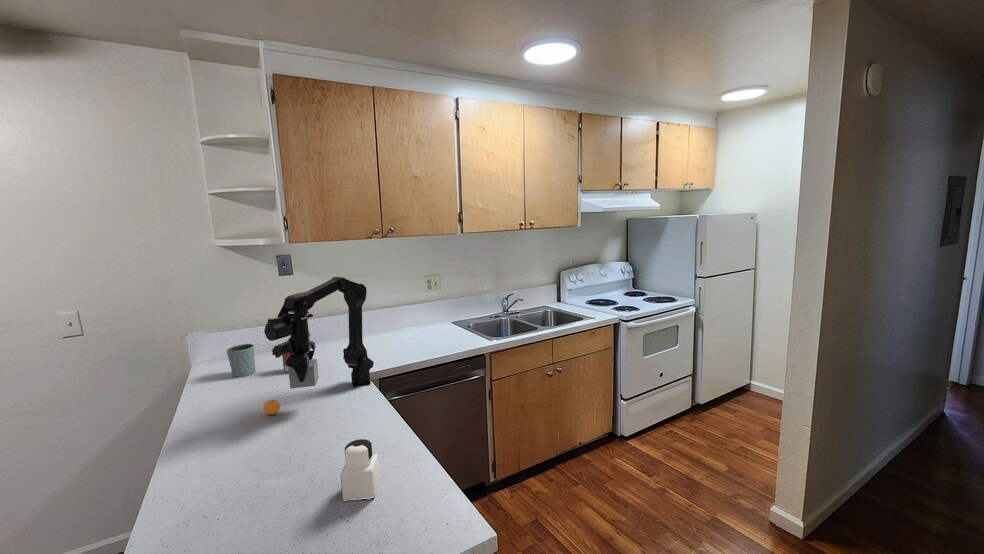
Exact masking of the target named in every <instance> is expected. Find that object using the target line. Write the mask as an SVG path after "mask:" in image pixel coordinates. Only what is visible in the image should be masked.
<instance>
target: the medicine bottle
mask: <svg viewBox="0 0 984 554" xmlns="http://www.w3.org/2000/svg"><path fill="white" fill-rule="evenodd" d="M372 444H373V443H372V442H371V441H370V440H369V439H366V438H360V439H356V440H352V441H350V442H349V443H347V444H346V445H345V447H344V457H345V458H344V459H345V463H344V465H343V468H342V469H341V471H340V483H341V484H340V485H341V494H342V501H343V500H351V499H352V500H353V499H361V498H370V497H374V496H375V497H376V495H375V493H376V494H377V492H376V490H377V491H378V488H377V486H378V487H379V485H378V483H379V484H380V481H379V479H380V480H381V478H380V467H379V454H377V453H375V454H374V453H373V445H372Z"/></svg>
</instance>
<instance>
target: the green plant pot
mask: <svg viewBox="0 0 984 554" xmlns="http://www.w3.org/2000/svg"><path fill="white" fill-rule="evenodd" d="M226 355H227V358H228V362H229V367H230V369H231V370H230V371H231V375H232V377H233V378H234V377H242V378H246V376H247V377H250V376H253V375H254V374H256V372H257V371H256V359H255V345H254V344H253V343H242V344H236V345H233V346H231V347H228V348H226ZM252 374H253V375H252ZM249 375H250V376H249Z"/></svg>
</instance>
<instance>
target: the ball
mask: <svg viewBox="0 0 984 554" xmlns="http://www.w3.org/2000/svg"><path fill="white" fill-rule="evenodd" d="M262 409H263V412H264V413H265V414H266V415H267V416H274V415H275V414H277V413H278V412H279V411H280V409H281V404H280V402H279V401H278V400H277V399H269V400H267V401H266V402H264V404H263V407H262Z"/></svg>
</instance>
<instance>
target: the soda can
mask: <svg viewBox="0 0 984 554" xmlns="http://www.w3.org/2000/svg"><path fill="white" fill-rule="evenodd" d="M293 354H295V353H293ZM290 355H291V354H289V352H288V353H286V354H284V355H282V356H281V357H282V366H283V372H284V373H288V374H289V370H288V369H289V367H287V366H286V360H287V358H288V357H289V356H290Z"/></svg>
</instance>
